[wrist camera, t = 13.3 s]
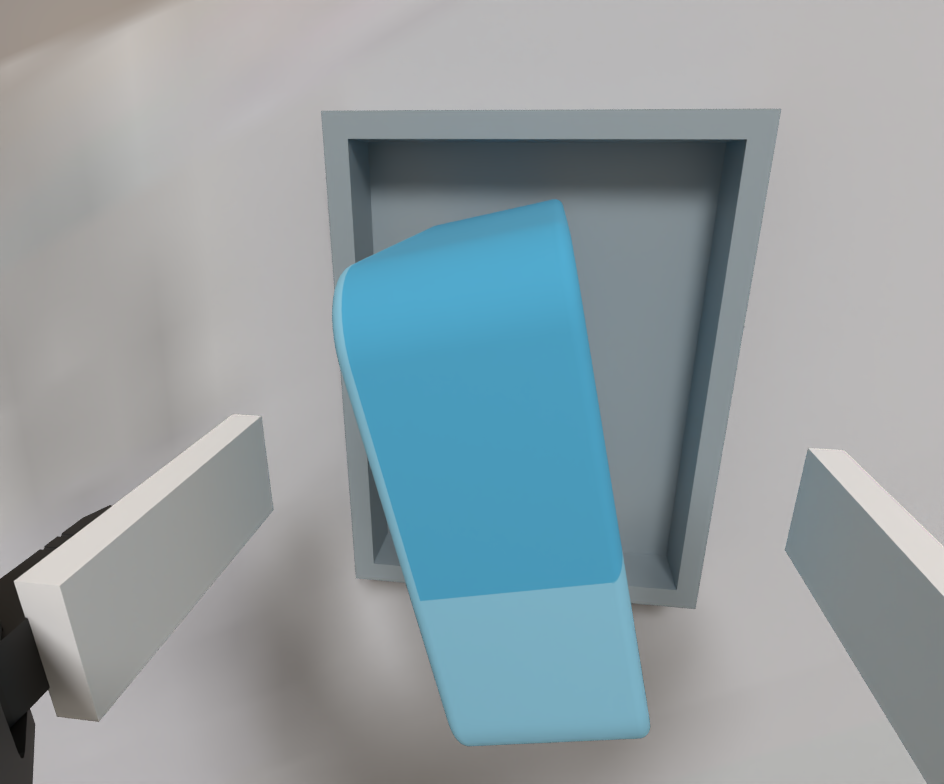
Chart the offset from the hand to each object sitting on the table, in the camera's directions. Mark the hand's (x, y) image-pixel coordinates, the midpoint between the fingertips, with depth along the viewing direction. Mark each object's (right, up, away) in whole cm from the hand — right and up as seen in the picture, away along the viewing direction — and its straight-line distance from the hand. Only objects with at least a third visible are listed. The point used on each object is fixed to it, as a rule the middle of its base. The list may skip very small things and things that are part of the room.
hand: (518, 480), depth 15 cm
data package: (+1, +3, +8) cm, 9 cm away
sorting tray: (+1, +3, +9) cm, 10 cm away
